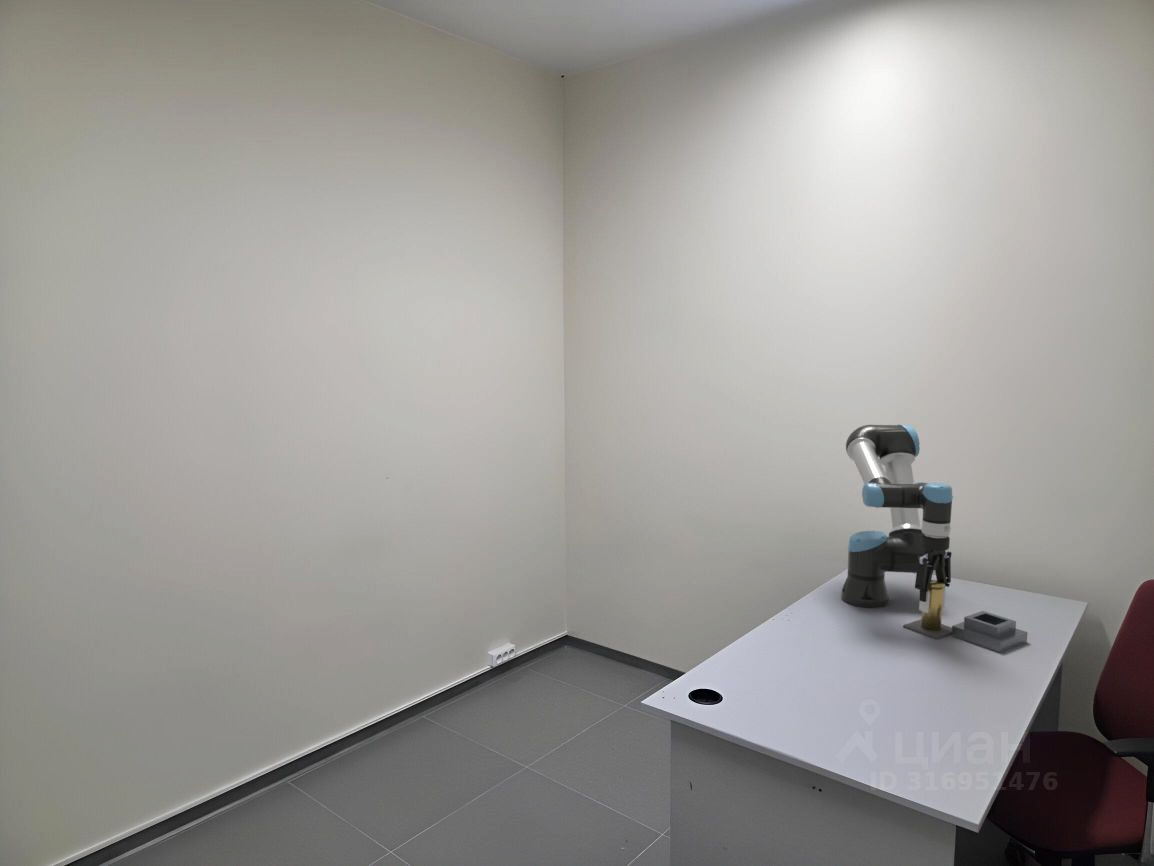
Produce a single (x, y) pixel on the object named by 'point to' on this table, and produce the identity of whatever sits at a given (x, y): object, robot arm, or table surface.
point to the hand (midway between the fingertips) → (931, 608)
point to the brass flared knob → (934, 607)
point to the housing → (990, 631)
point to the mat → (931, 633)
